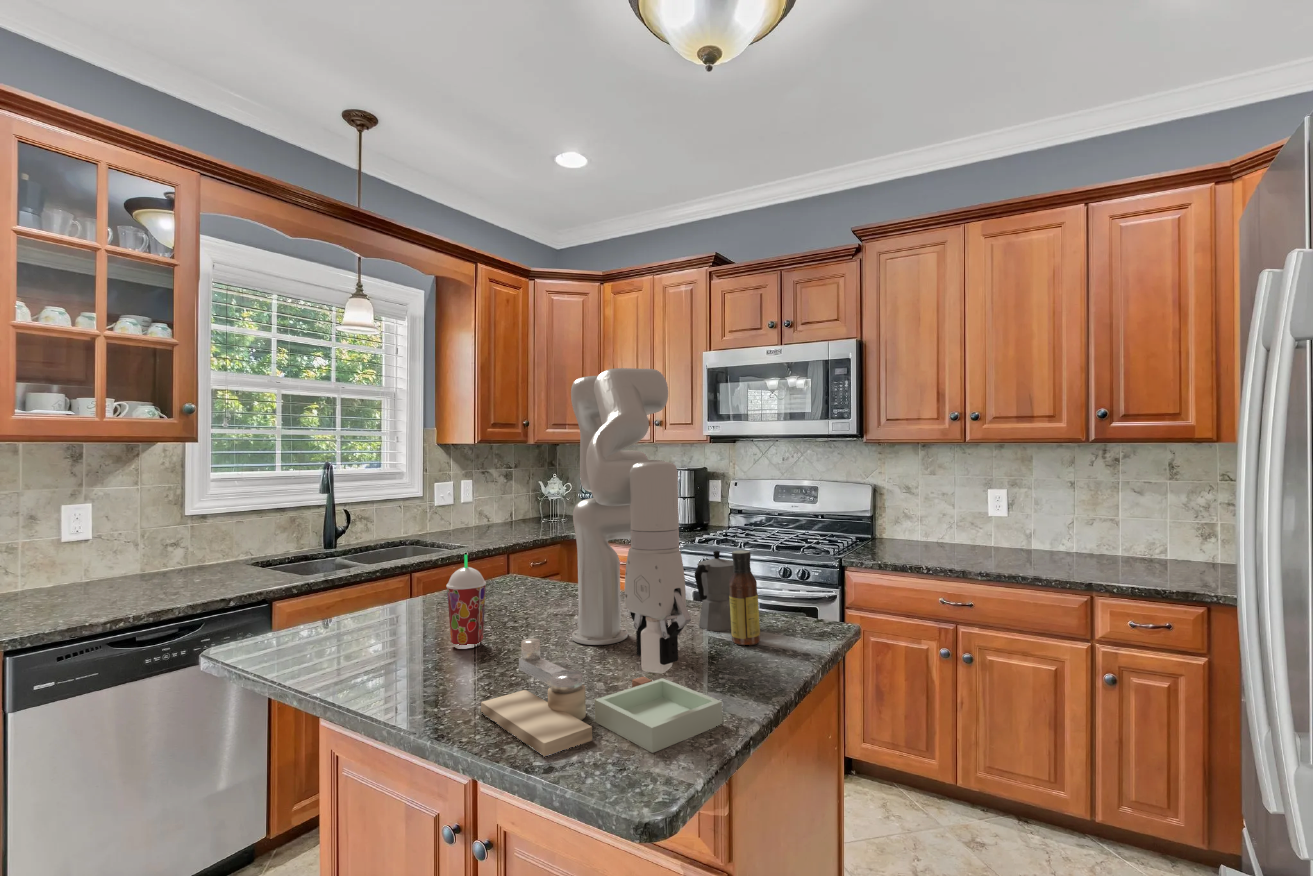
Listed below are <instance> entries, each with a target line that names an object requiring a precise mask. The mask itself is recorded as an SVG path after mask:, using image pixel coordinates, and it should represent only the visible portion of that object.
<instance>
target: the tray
mask: <svg viewBox="0 0 1313 876" xmlns="http://www.w3.org/2000/svg"><path fill="white" fill-rule="evenodd" d="M594 722H595V723H596V724H598V725H600V726H602V727H603V728H606V729H607V730H609V731H611V732H612V733H614V734H616V735H618V736H620V737H622V738H624V739H625V740H628V741H629V742H632V743H633V744H635V745H637V746H638V747H641V748H642V749H644V750H646V751H647V752H650V753H651V754H654V753H656V752H658V751H661V750H664V749H666V748H668V747H671V746H674V745H675V744H677V743H680V742H682V741H685V740H687V739H691V738H693V737H695V736H697V735H700V734H701V733H704V732H707V731H710V730H712V729H715V728H717V727H719V726H718V725H720V724H722V725H723V701H721V700H719V699H716V698H714V697H711V696H709V695H706V694H704V693H701V692H699V691H696V690H694V689H691V688H689V687H686V686H683V685H682V684H678V683H676V682H674V681H671V680H669V679H667V678H663V677H662V678H661V677H660V678H659V679H656V680H652V682H649V683H645V684H642V685H639V686H636V687H633V688H632V687H630V688H627V689H624V690H620V691H618V692H614V693H611V694H608V695H604V696H602V697H601V696H600V697H599V698H595V699H594ZM716 726H717V727H716ZM720 726H721V725H720ZM709 729H710V730H709Z"/></svg>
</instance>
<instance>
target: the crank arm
mask: <svg viewBox="0 0 1313 876" xmlns="http://www.w3.org/2000/svg"><path fill="white" fill-rule="evenodd" d="M520 647H521V648H520V649H521V654H520V655H521V657H519V658H518V670H519V671H520V672H522V673H524V674H527V675H528V676H531V677H533V678H534V679H536V680H538V681H540V682H542V683H545V684H546V685H548V686H549V687H551V691H553V692H555V693H561V694H567V693H573V692H577V691H579V690H581V689H582V684H583V673H582V672H581V671H579V670H576V669H566V668H565V667H562V666H560V665H558V664H556V663H554V662H552V661H550V660H547V659H545V658H542V657H541V640H540V639H539V638H534V637H533V638H526V639H525V638H524V639H522V640H521V643H520Z"/></svg>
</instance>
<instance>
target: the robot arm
mask: <svg viewBox="0 0 1313 876" xmlns="http://www.w3.org/2000/svg"><path fill="white" fill-rule="evenodd" d="M570 396H571V397H570V399H571V406H572V407H571V408H572V409H573V410H572V411H573V413H574V416H575V418H576V421H577V425H578V428H579V434H580V439H579V440H580V441H579V442H580V445H579V446H580V447H579V473H580V474H579V475H580V476H579V477H580V484H581V486H582V488H583V490H585V491H587V492H589V493H591V495H592V497H590V498H585V499H583V500H580V501H579V502H577V503H576V504H575V506H574V508H573V511H572V520H573V521H572V523H573V526H574V527H573V528H574V535H575V540H576V548H577V549H576V551H577V552H576V554H577V555H576V556H577V589H578V590H577V591H578V594H577V596H578V597H577V598H578V615H577V616H573V619H572V620H573V622H574V623H576V624H577V629H575V630H574V631H573V632H572V633H571V639H572V641H574V642H575V643H578V644H582V645H587V646H588V645H589V646H604V645H605V646H606V645H612V644H616V643H620V642H622V641H625V640H626V639H627V638H628V637H629V636H628V634H629V633H628V632H629V631H628V630H627V628H625V627H622V625H621V624H622V618H621V613H622V611H621V609H622V608H621V564H620V557H619V555H618V554H617V552H616V551H615V549H614V548H613V547H612V546H611V545H610V544H609V541H612V540H621V539H630V547H629V548H628V551H627V557H626V562H625V563H626V564H625V575H624V606H625V608H626V609H627V610H628V612H629V615H630V616H631V617H630V618H632V621H633V628H634V630H635V631H636V632H635V633H636V636H635V637H636V655H637V656H639V657H641V631H642V630H643V629H644V628H646V627H647V621H646V617H650V618H653V619H657V620H659V621H660V626H661V631H662V636H663V637H662V638H660V640H659V641H660V663H661V664H662V665H666V664H669V663H672V664H673V663H675V662H677V661H678V660H679V642H678V639H679V637H678V636H680V635H681V634H682V633H681V632H682V630H683V629H684V628H685V626H687V624H689V623H690V622H691V620H692V616H691V614H690V612H689V610H688V609H687V605H686V604H687V602H686V601H687V598H686V595H687V593H686V591H687V590H686V581H685V580H686V579H685V569H684V563H683V558H682V553H681V550H680V533H679V531H680V528H679V527H680V526H679V525H680V523H679V521H680V520H679V478H678V477H679V474H678V468H677V466H676V465H675V464H674V463H673V462H670V461H664V460H661V459H649V458H648V457H647V455H646V454H645V453H644V452H643V451H640V450H635V449H633V450H631V449H629V450H628V449H627V448H630V447H631V446H634V445H636V444H638V443H639V442H640V441H641V440H642V439H643V438H645V437H646V435H647V433H648V431H649V426H650V421H649V417H648V416H649V415H653V414H656V413H659V412H661V411H662V410H664V409H665V407H666V405H667V403H668V400H669V387H668V383H667V380H666V378H665V375H663V373H662V372H661V371H659V370H657V369H654V368H627V367H626V368H624V367H622V368H621V367H620V368H619V367H617V368H610V369H606V370H604V371H602V372H601V373H600V374H598V375H589V376H583V377H578V378H577V379H576V380H573V382H572V385H571V390H570ZM668 621H670V625H668V624H669V623H668Z"/></svg>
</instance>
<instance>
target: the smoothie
mask: <svg viewBox="0 0 1313 876" xmlns="http://www.w3.org/2000/svg"><path fill="white" fill-rule="evenodd" d="M463 557H464V564H463V565H464V566H463V567H460V568H458V569H456V570H455V571H454V572H453V573H452V574H451V575H450V576H449V577H450V578H449V580H448V582H447V584H446V593H447V595H446V596H447V606H448V608H447V609H448V618H449V619H448V621H449V632H450V635H449V636H450V643H451V644H452V645H453V644H459V645H467V644H477V643H479V642H481V643H482V641H483V640H484V628H485V627H484V626H485V605H486V584H487V582H486V580H485V579H484V577H483V575H482V573H481V572H480V571H479V570H478V569H476V568H473V567H471V566H468V554H464V555H463Z"/></svg>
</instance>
